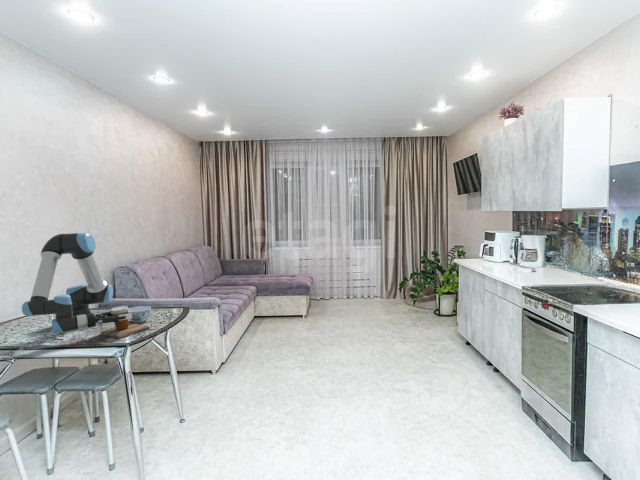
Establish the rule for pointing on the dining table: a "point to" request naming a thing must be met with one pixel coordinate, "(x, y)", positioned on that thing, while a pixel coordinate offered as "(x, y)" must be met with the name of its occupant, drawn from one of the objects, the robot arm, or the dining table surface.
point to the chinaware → (139, 313)
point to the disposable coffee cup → (120, 311)
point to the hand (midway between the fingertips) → (129, 313)
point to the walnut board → (125, 331)
